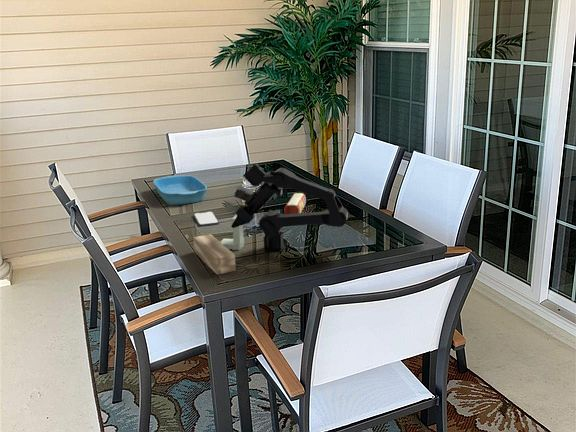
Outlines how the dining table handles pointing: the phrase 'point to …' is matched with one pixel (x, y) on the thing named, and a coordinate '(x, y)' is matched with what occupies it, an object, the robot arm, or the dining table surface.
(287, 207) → the snack package
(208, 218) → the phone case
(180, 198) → the casserole dish
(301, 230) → the dining table surface
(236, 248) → the sage green flanged block
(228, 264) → the beige u-shaped channel
